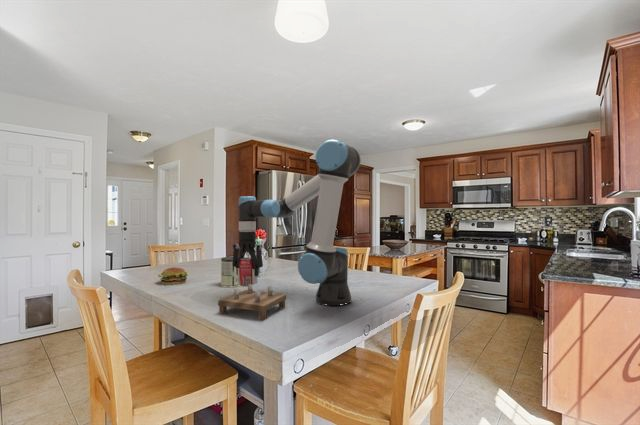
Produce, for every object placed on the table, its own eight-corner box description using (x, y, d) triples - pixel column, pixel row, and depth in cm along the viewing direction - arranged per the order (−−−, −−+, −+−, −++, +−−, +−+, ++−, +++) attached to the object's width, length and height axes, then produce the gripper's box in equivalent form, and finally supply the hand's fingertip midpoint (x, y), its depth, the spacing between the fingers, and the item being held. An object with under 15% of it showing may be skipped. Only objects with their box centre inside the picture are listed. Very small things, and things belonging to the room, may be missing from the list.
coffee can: (225, 282, 164) (226, 256, 165) (244, 283, 163) (244, 256, 164) (217, 287, 154) (217, 259, 154) (237, 288, 153) (237, 259, 153)
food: (157, 281, 166) (157, 266, 166) (185, 279, 173) (186, 265, 173) (157, 286, 154) (158, 270, 154) (188, 284, 161) (188, 268, 161)
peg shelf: (286, 307, 121) (286, 285, 122) (263, 320, 105) (263, 295, 106) (245, 302, 128) (245, 281, 128) (218, 313, 112) (218, 290, 112)
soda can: (250, 283, 142) (249, 256, 142) (258, 285, 136) (258, 258, 137) (236, 285, 137) (236, 258, 137) (244, 287, 132) (244, 259, 132)
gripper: (271, 230, 137) (271, 282, 137) (233, 230, 144) (233, 280, 144) (262, 231, 130) (262, 286, 130) (223, 231, 137) (223, 283, 137)
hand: (247, 283), depth 137 cm, fingers closed on soda can, 7 cm apart
